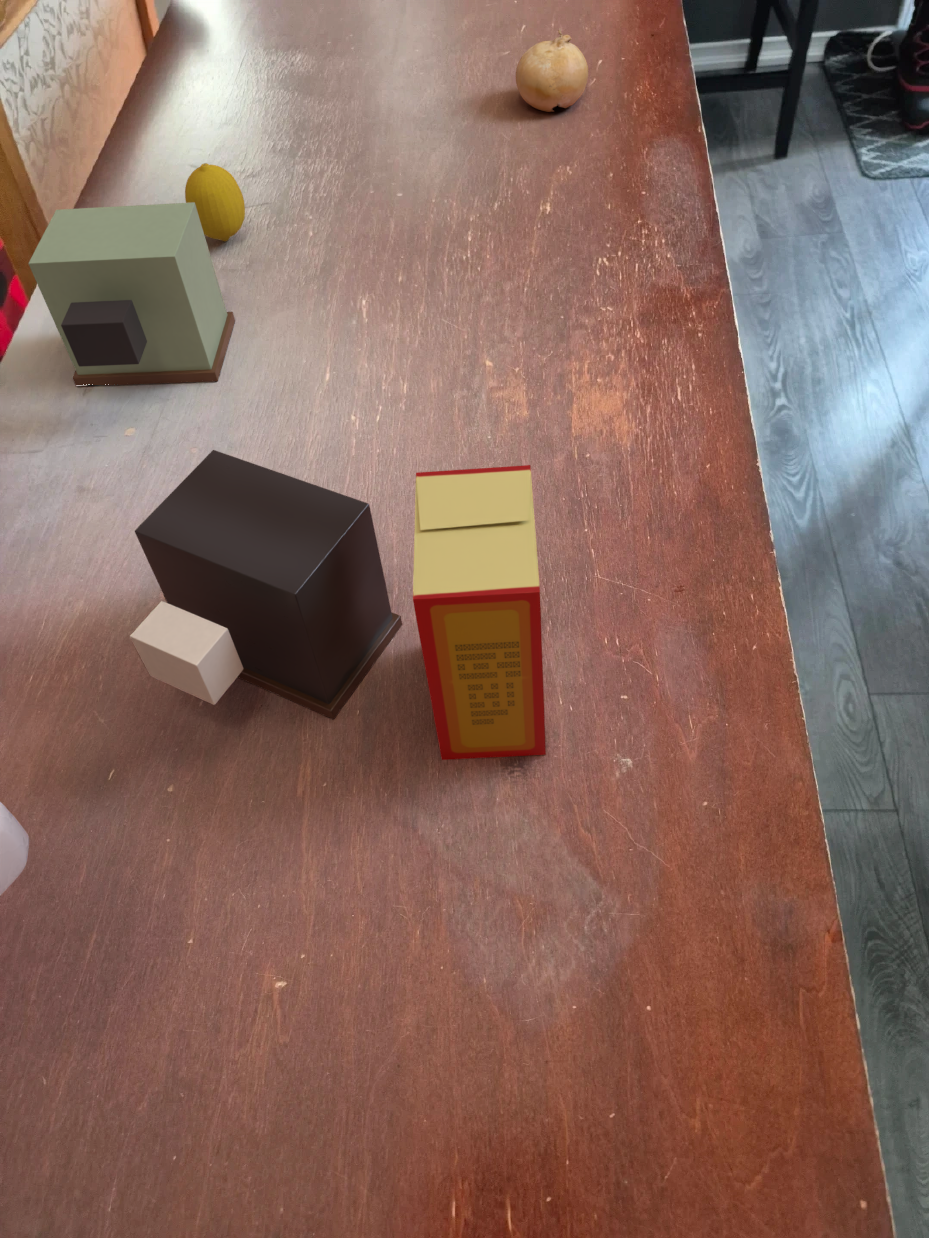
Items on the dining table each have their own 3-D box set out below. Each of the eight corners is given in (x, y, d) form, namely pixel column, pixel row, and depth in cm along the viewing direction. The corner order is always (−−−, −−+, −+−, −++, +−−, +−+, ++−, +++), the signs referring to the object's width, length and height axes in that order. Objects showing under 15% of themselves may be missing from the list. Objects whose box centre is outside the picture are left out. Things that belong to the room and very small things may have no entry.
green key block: (217, 381, 93) (178, 259, 84) (75, 387, 94) (21, 266, 85) (235, 320, 98) (200, 199, 89) (101, 326, 100) (52, 207, 90)
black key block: (333, 720, 69) (297, 601, 60) (180, 652, 74) (124, 533, 65) (402, 624, 74) (378, 501, 65) (254, 566, 79) (212, 443, 69)
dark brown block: (139, 364, 85) (122, 322, 82) (78, 367, 86) (60, 325, 83) (147, 341, 87) (132, 299, 84) (88, 344, 88) (70, 302, 85)
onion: (577, 123, 117) (577, 55, 111) (508, 117, 119) (504, 51, 113) (594, 89, 121) (595, 23, 116) (527, 84, 123) (525, 19, 118)
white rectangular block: (214, 705, 64) (196, 665, 60) (149, 676, 65) (128, 635, 62) (244, 669, 65) (227, 628, 62) (180, 641, 67) (161, 600, 64)
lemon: (189, 254, 106) (166, 178, 100) (210, 224, 109) (189, 148, 103) (241, 258, 105) (220, 181, 99) (260, 227, 108) (242, 151, 102)
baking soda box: (545, 754, 67) (539, 587, 54) (441, 759, 67) (412, 594, 55) (537, 635, 73) (530, 460, 60) (441, 640, 73) (415, 467, 61)
